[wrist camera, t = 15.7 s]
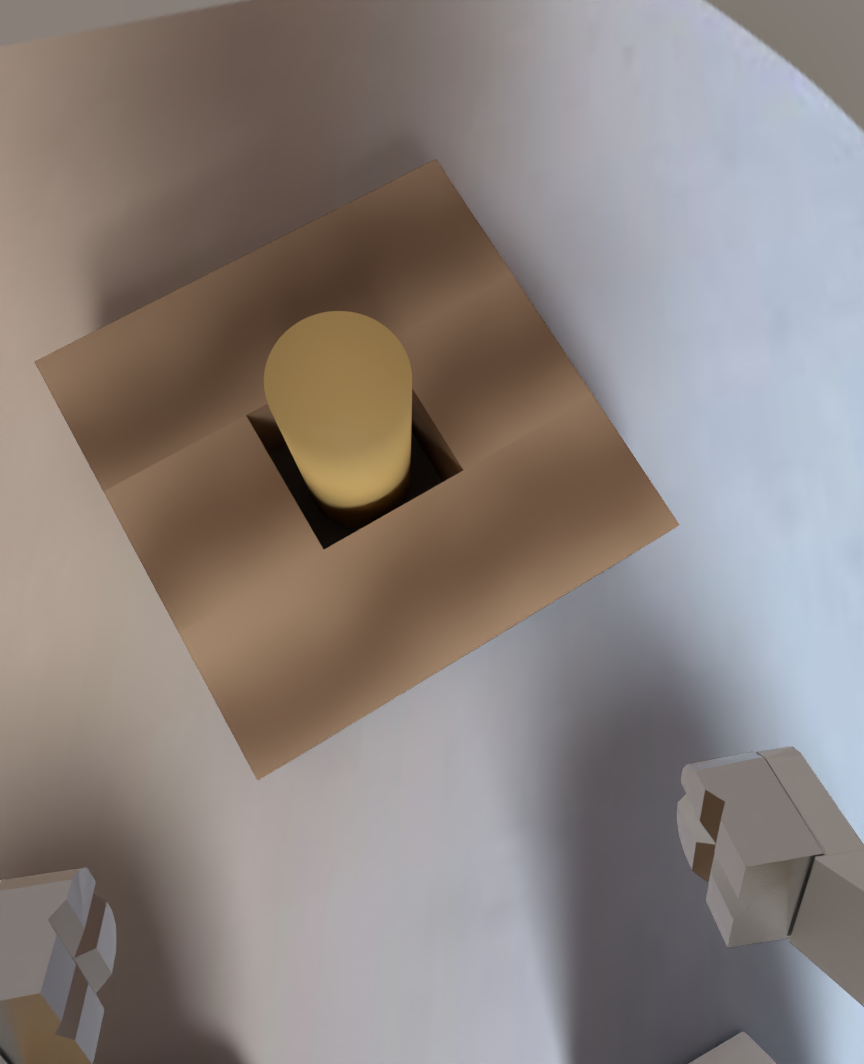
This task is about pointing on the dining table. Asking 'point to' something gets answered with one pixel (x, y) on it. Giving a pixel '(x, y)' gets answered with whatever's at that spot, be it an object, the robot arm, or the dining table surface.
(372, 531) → the bore block
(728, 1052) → the milk carton
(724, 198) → the dining table surface
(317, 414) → the pin
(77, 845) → the dining table surface
